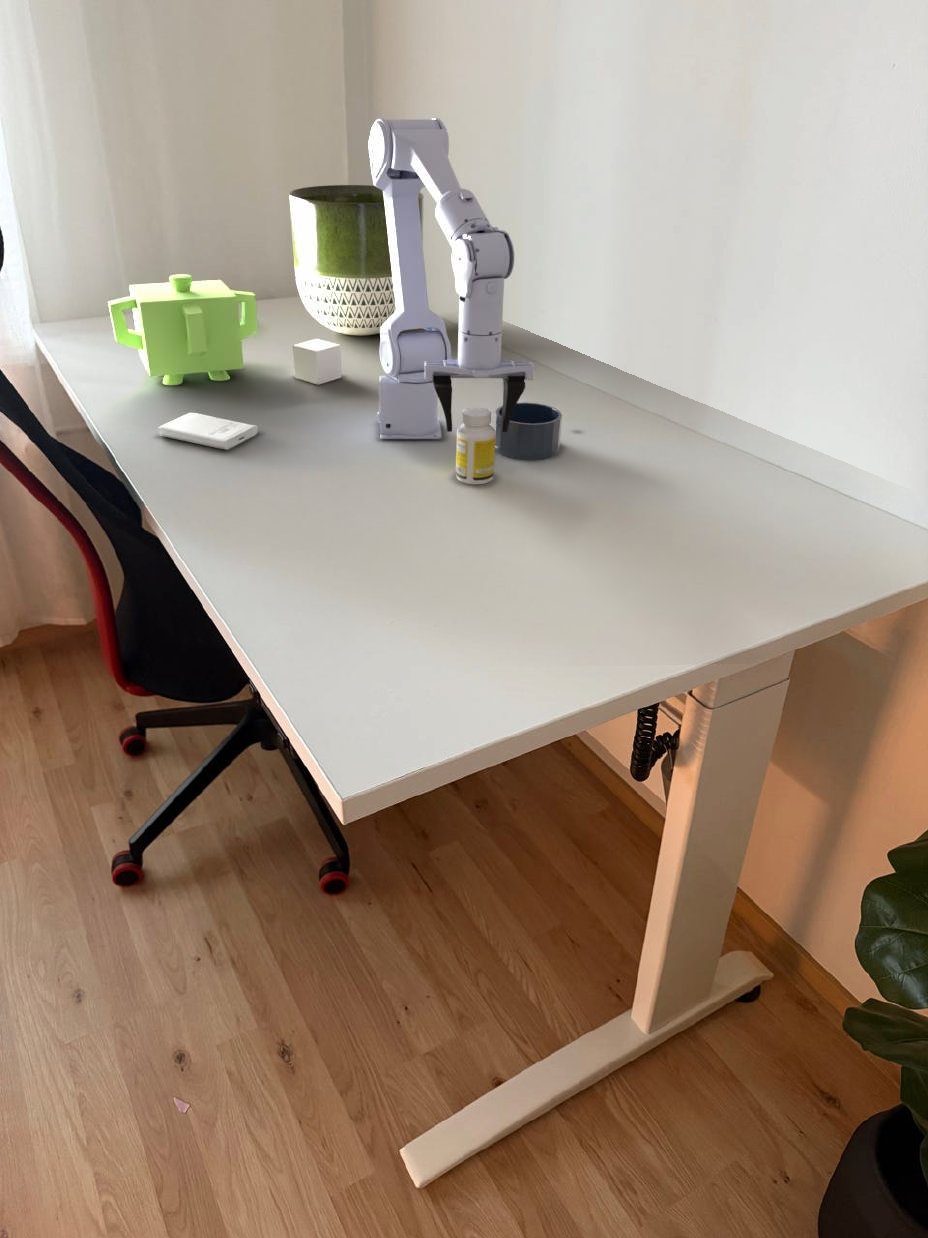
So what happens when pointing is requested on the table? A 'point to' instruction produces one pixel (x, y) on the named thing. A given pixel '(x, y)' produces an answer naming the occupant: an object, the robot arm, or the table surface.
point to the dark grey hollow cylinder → (529, 432)
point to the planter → (344, 256)
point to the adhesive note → (317, 361)
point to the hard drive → (208, 430)
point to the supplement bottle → (475, 447)
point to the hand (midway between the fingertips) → (476, 429)
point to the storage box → (186, 327)
